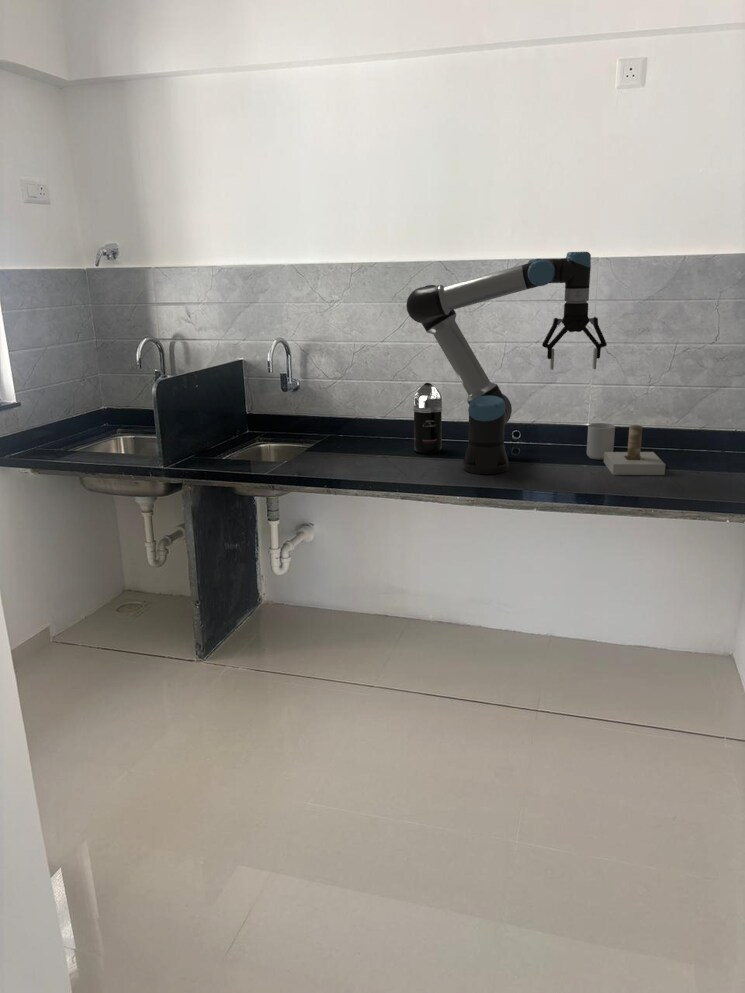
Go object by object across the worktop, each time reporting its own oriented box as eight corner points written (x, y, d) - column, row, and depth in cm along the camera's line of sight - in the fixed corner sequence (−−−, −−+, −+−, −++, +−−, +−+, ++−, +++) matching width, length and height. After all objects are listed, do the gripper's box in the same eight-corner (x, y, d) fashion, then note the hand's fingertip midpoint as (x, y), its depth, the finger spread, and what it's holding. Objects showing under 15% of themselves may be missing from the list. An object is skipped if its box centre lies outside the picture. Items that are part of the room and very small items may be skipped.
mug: (613, 461, 266) (615, 428, 262) (586, 459, 268) (588, 428, 265) (612, 452, 277) (614, 421, 273) (586, 451, 279) (588, 420, 276)
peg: (627, 469, 255) (630, 427, 250) (625, 466, 258) (628, 425, 254) (640, 469, 254) (643, 427, 250) (637, 466, 258) (640, 425, 254)
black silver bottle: (411, 448, 289) (411, 381, 282) (439, 447, 290) (439, 379, 283) (416, 455, 280) (415, 385, 272) (444, 453, 281) (444, 384, 273)
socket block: (612, 474, 250) (613, 464, 248) (603, 461, 265) (604, 451, 264) (664, 475, 248) (665, 464, 247) (652, 462, 263) (653, 451, 262)
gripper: (537, 303, 247) (535, 370, 253) (618, 302, 244) (614, 370, 251) (535, 302, 254) (533, 367, 260) (614, 300, 251) (609, 366, 258)
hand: (572, 368), depth 256 cm, fingers open, 13 cm apart
